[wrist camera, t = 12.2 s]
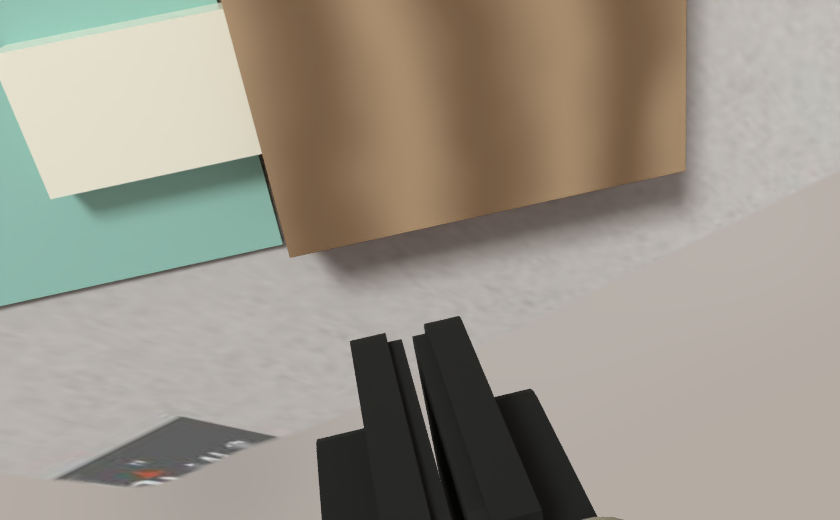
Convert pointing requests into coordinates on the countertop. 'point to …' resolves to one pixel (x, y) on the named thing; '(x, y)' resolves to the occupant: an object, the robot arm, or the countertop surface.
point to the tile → (130, 100)
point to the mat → (115, 190)
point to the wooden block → (454, 106)
